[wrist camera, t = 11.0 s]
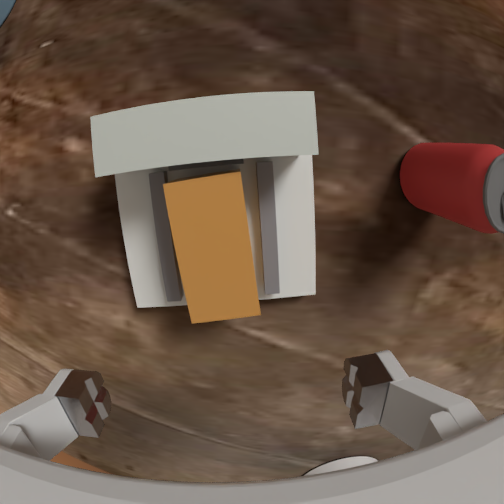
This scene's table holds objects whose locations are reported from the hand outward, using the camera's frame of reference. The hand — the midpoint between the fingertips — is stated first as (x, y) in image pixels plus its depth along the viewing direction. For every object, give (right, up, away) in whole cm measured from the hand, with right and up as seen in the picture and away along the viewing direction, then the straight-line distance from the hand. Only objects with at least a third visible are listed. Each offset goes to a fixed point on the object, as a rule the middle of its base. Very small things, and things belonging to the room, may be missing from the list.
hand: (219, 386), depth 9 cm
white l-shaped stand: (-2, +8, +18) cm, 20 cm away
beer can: (+18, +12, +18) cm, 28 cm away
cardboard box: (-2, +6, +16) cm, 17 cm away
